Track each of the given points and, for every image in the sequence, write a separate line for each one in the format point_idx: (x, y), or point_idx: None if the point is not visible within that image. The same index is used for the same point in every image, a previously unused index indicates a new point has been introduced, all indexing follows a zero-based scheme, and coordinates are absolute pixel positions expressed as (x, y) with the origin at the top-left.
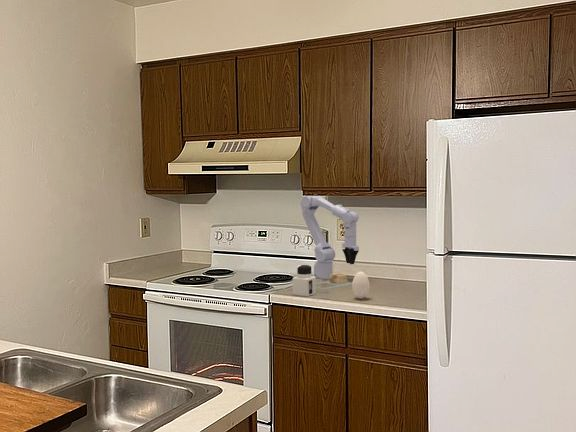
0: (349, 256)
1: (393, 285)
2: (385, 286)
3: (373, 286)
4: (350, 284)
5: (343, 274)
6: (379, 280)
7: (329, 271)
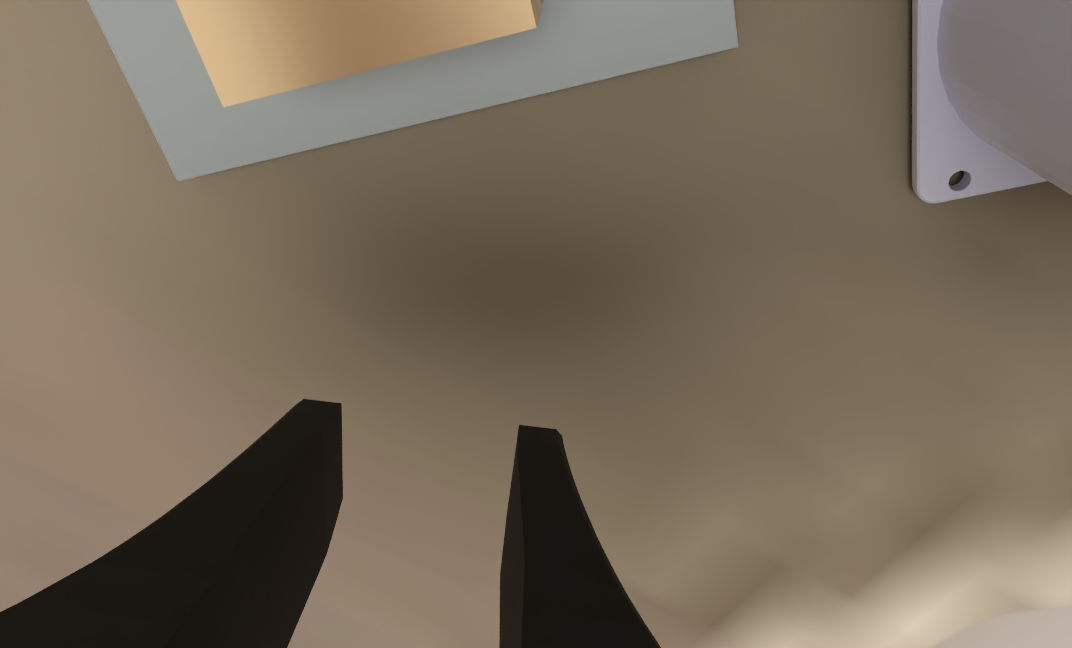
0: (136, 554)
1: (51, 565)
2: (2, 465)
3: (37, 345)
4: (95, 16)
5: (269, 27)
6: (435, 615)
7: (1032, 43)
